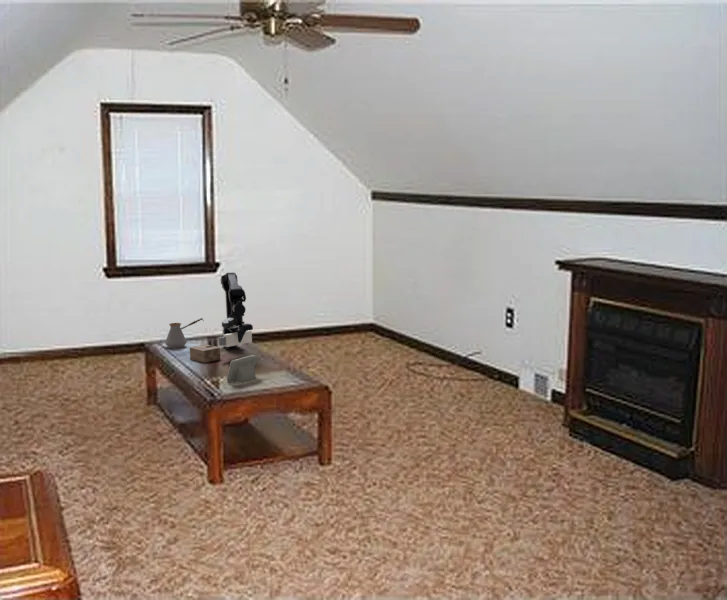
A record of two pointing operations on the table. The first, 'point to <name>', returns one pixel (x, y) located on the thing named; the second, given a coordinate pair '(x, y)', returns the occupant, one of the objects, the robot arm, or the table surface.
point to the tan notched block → (205, 353)
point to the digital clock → (242, 369)
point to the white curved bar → (235, 339)
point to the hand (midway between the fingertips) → (237, 341)
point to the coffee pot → (177, 335)
